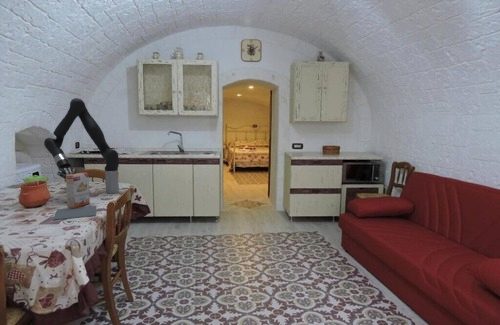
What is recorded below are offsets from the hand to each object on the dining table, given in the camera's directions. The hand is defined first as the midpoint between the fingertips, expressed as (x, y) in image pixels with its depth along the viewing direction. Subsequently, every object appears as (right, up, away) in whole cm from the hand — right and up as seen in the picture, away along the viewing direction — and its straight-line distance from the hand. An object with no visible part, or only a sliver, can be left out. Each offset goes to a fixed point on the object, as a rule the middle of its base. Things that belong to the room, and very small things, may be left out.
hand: (72, 182), depth 214 cm
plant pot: (-23, -8, +47) cm, 53 cm away
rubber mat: (+11, -18, -17) cm, 27 cm away
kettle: (-53, -8, +44) cm, 70 cm away
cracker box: (+6, -15, -3) cm, 17 cm away
